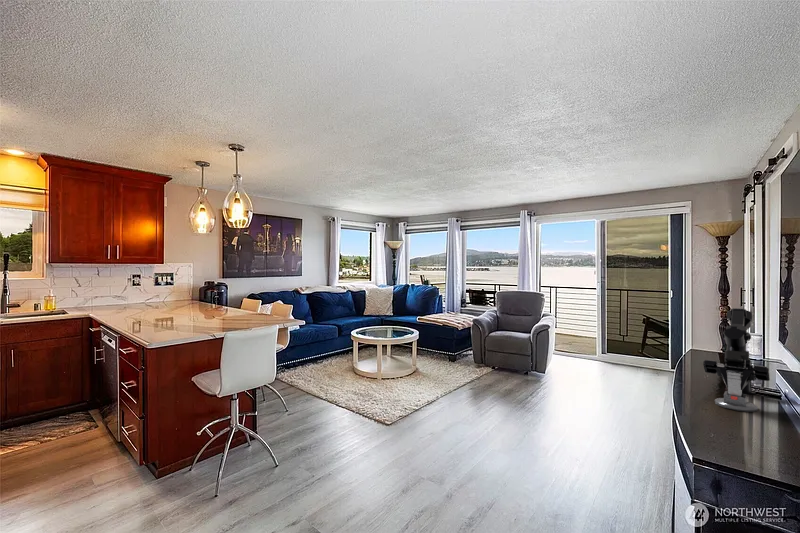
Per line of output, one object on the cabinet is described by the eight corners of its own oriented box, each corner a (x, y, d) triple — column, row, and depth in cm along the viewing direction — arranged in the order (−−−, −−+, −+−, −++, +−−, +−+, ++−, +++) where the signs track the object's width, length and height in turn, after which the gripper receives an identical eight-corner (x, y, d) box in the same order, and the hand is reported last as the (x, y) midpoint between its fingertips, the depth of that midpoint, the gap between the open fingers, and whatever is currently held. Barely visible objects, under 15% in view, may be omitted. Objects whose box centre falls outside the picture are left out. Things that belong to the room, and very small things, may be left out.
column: (729, 400, 141) (727, 370, 141) (742, 402, 138) (741, 371, 139) (728, 402, 138) (726, 372, 139) (741, 404, 135) (740, 373, 136)
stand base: (717, 399, 147) (716, 387, 147) (758, 406, 138) (758, 394, 138) (712, 406, 138) (712, 394, 139) (756, 414, 130) (756, 401, 130)
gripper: (702, 339, 149) (699, 371, 141) (767, 345, 135) (767, 380, 127) (706, 356, 154) (703, 387, 146) (769, 363, 140) (769, 398, 132)
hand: (734, 388), depth 137 cm, fingers closed on column, 4 cm apart
